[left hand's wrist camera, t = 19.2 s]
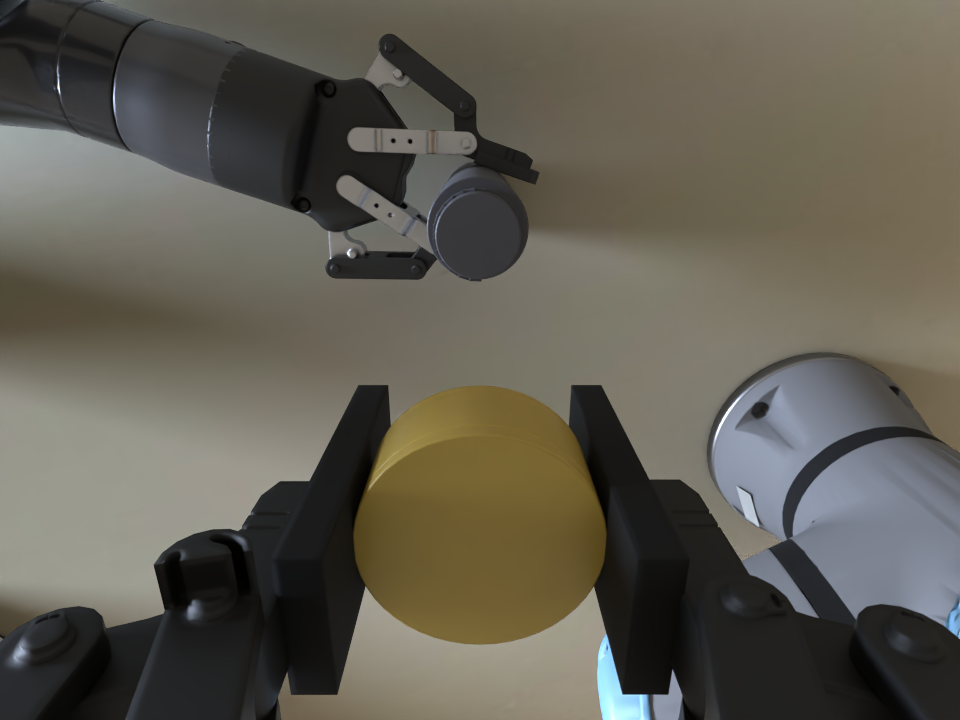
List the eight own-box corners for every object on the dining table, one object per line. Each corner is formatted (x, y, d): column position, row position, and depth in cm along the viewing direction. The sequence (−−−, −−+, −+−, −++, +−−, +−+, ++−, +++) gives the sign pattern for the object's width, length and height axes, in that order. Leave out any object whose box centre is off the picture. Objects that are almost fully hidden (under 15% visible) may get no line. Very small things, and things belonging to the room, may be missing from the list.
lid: (614, 530, 13) (640, 602, 11) (426, 593, 14) (417, 673, 12) (542, 351, 11) (557, 395, 9) (335, 431, 12) (305, 489, 10)
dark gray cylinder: (447, 159, 38) (424, 175, 21) (509, 163, 38) (538, 183, 21) (444, 222, 40) (421, 287, 22) (504, 226, 40) (527, 294, 22)
